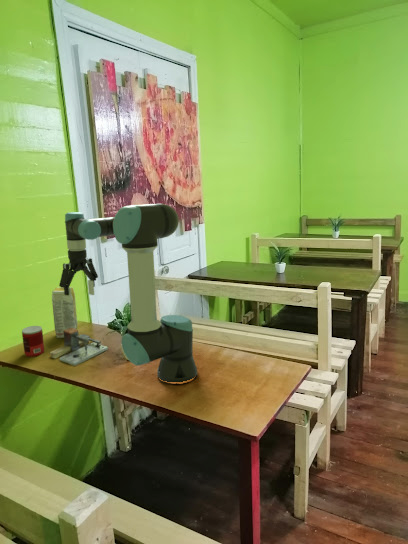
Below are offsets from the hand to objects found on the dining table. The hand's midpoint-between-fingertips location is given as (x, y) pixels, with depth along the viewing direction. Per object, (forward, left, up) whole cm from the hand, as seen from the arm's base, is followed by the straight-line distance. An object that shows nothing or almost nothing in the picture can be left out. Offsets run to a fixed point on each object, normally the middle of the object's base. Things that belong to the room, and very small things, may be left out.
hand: (80, 298), depth 175 cm
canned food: (+10, +18, -22) cm, 30 cm away
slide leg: (-4, +7, -21) cm, 22 cm away
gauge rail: (-4, +8, -21) cm, 23 cm away
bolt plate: (-9, +8, -21) cm, 24 cm away
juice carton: (+14, -2, -22) cm, 26 cm away
